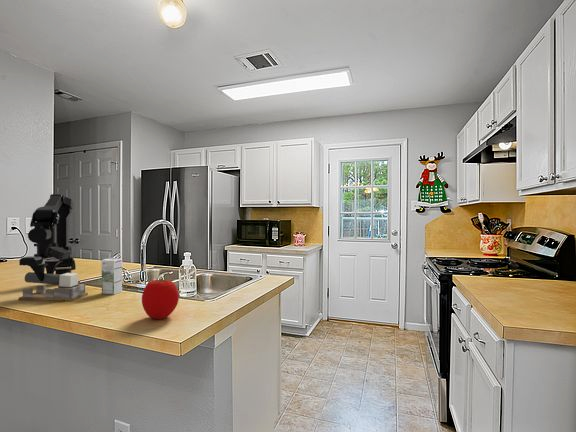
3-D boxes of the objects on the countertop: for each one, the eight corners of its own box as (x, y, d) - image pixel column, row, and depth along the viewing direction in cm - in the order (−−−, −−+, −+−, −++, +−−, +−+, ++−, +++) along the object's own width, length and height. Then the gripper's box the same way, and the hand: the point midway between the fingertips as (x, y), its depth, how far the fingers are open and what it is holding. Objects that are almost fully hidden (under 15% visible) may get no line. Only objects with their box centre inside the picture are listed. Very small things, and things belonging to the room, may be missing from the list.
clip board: (37, 294, 132) (37, 283, 132) (87, 294, 132) (87, 284, 131) (18, 300, 123) (18, 288, 123) (72, 300, 123) (72, 289, 122)
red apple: (134, 318, 103) (134, 279, 103) (164, 310, 112) (164, 274, 112) (155, 326, 97) (155, 283, 97) (185, 316, 106) (185, 277, 106)
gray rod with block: (23, 283, 125) (24, 272, 125) (33, 281, 130) (33, 270, 130) (70, 287, 125) (70, 275, 125) (77, 284, 129) (78, 273, 129)
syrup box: (122, 291, 138) (122, 257, 137) (113, 295, 132) (113, 259, 132) (110, 291, 138) (110, 257, 138) (100, 294, 132) (100, 259, 132)
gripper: (47, 243, 118) (47, 285, 118) (81, 238, 136) (81, 275, 136) (18, 242, 118) (18, 285, 118) (55, 238, 136) (55, 275, 137)
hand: (45, 279), depth 127 cm, fingers closed on gray rod with block, 4 cm apart
